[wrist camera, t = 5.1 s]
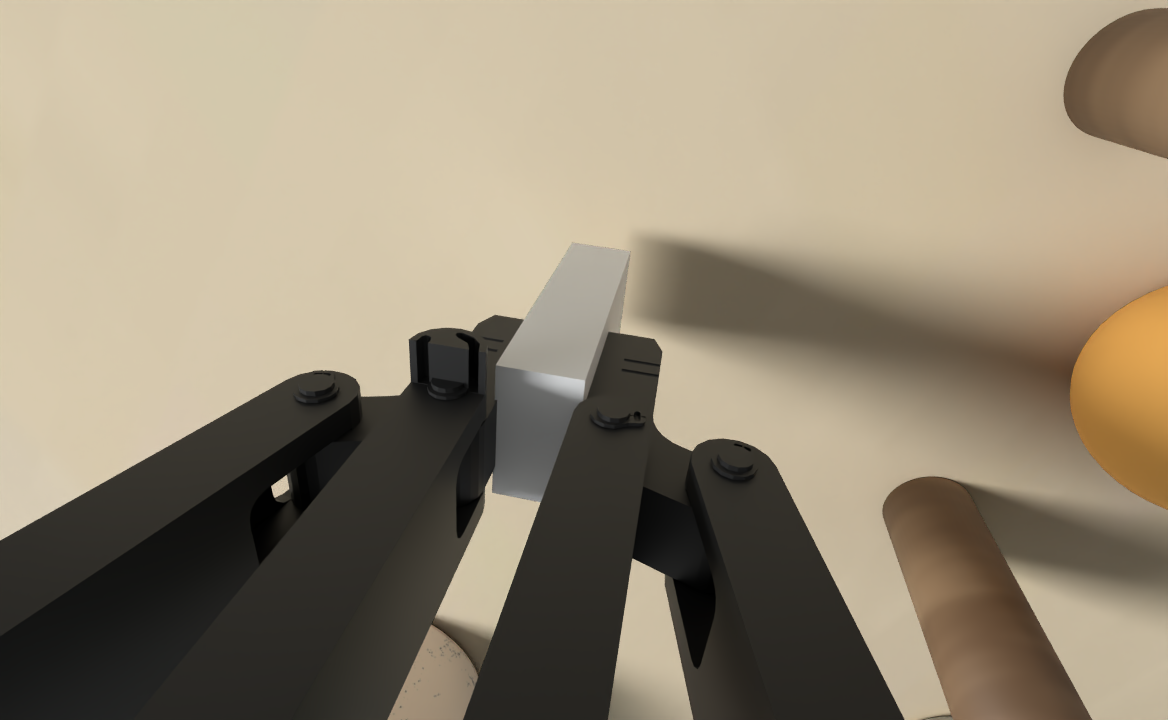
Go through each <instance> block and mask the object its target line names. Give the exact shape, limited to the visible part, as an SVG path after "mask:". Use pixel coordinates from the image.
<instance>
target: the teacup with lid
mask: <svg viewBox="0 0 1168 720" xmlns="http://www.w3.org/2000/svg"><path fill="white" fill-rule="evenodd" d="M477 679H478V675H477V672H476V670H475V668H474V666H473V664H472V662H471V660H470V659H469V658H468V656H467V655H466V654H465V652H464V651H463V650H462V649H461V648H460V647H459V646H458V645H457V644H456V643H455V642H454V641H453V640H452V639H451V638H450V637H449V636H447V635H446V634H445V633H443V632H442V631H441V630H439V629H438V628H436V627H435V626H433V625H431V626H430V628H429V631H428V633H427V635H426V637H425V639H424V641H423V644H422V646H421V648H420V650H419V652H418V654H417V657H416V659H415V661H414V663H413V665H412V667H411V670H410V672H409V674H408V676H407V678H406V681H405V683H404V685H403V687H402V689H401V691H400V694H399V696H398V698H397V700H396V702H395V704H394V707H393V709H392V711H391V713H390V715H389V717H388V720H463V718H464V715H465V713H466V710H467V707H468V704H469V701H470V699H471V696H472V693H473V690H474V687H475V685H476V682H477Z"/></svg>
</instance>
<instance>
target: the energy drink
mask: <svg viewBox="0 0 1168 720" xmlns="http://www.w3.org/2000/svg"><path fill="white" fill-rule="evenodd" d="M925 720H953V718H952V716H943V717H935V718H929V719H925Z"/></svg>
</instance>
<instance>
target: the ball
mask: <svg viewBox="0 0 1168 720" xmlns="http://www.w3.org/2000/svg"><path fill="white" fill-rule="evenodd" d="M1070 405H1071V413H1072V416H1073V420H1074V423H1075V426H1076V429H1077V431H1078V433H1079V435H1080V437H1081V440H1082V442H1083V443H1084V445H1085V447H1086V448H1087V450H1088V451H1089V453H1090V454H1091V455H1092V457H1093V458H1094V459H1095V460H1096V461H1097V462H1098V463H1099V465H1100V466H1101V467H1102V468H1103V469H1104V470H1105V471H1106V472H1107V473H1108V474H1109V475H1111V476H1112V477H1113V478H1114V479H1115V480H1116V481H1117V482H1119V483H1120V484H1121V485H1123V486H1124V487H1126V488H1127V489H1128V490H1130V491H1131V492H1133V493H1135V494H1136V495H1138V496H1140V497H1142V498H1143V499H1145V500H1147V501H1149V502H1151V503H1154V504H1156V505H1158V506H1160V507H1162V508H1165V509H1167V510H1168V286H1165V287H1163V288H1160V289H1158V290H1155V291H1153V292H1150V293H1148V294H1146V295H1144V296H1142V297H1140V298H1138V299H1136V300H1134V301H1132V302H1131V303H1129V304H1127V305H1126V306H1124V307H1123V308H1121V309H1120V310H1118V311H1117V312H1115V313H1114V314H1113V315H1112V316H1111V317H1109V318H1108V319H1107V320H1106V321H1105V322H1104V323H1102V324H1101V325H1100V326H1099V328H1098V329H1097V330H1096V331H1095V332H1094V333H1093V334H1092V335H1091V337H1090V338H1089V340H1088V341H1087V343H1086V344H1085V346H1084V347H1083V349H1082V351H1081V352H1080V355H1079V357H1078V359H1077V361H1076V364H1075V366H1074V370H1073V374H1072V377H1071V387H1070Z"/></svg>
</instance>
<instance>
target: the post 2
mask: <svg viewBox="0 0 1168 720" xmlns="http://www.w3.org/2000/svg"><path fill="white" fill-rule="evenodd" d="M1064 104H1065V109H1066V112H1067V114H1068V116H1069V118H1070V120H1071V121H1072V122H1073V123H1074V125H1075V126H1076V127H1077V128H1079V129H1080V130H1081V131H1083V132H1085V133H1087V134H1088V135H1091V136H1094V137H1097V138H1101V139H1104V140H1107V141H1111V142H1114V143H1117V144H1120V145H1124V146H1127V147H1130V148H1134V149H1137V150H1140V151H1144V152H1147V153H1150V154H1153V155H1157V156H1160V157H1163V158H1167V159H1168V8H1158V9H1147V10H1142V11H1137V12H1134V13H1131V14H1128V15H1126V16H1124V17H1122V18H1119V19H1117V20H1116V21H1114V22H1112V23H1110V24H1109V25H1107V26H1106V27H1104V28H1103V29H1102V30H1100V31H1099V32H1098V33H1097V34H1096V35H1095V36H1093V37H1092V38H1091V39H1090V40H1089V41H1088V42H1087V43H1086V45H1085V46H1084V47H1083V48H1082V49H1081V51H1080V52H1079V53H1078V55H1077V56H1076V58H1075V60H1074V61H1073V63H1072V65H1071V67H1070V69H1069V72H1068V75H1067V77H1066V81H1065V86H1064Z"/></svg>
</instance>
